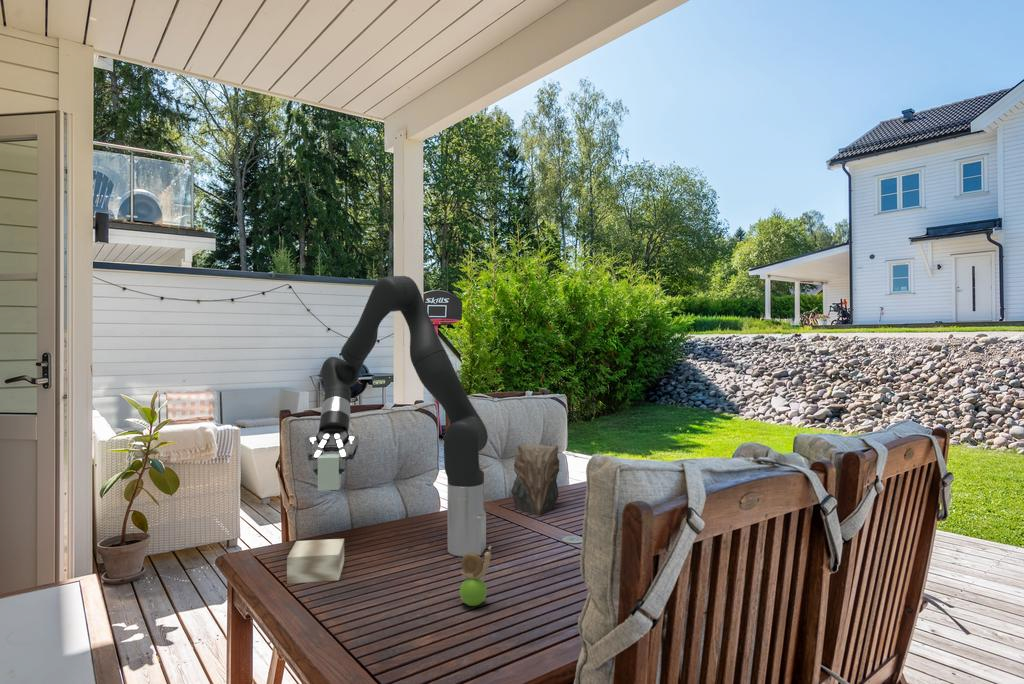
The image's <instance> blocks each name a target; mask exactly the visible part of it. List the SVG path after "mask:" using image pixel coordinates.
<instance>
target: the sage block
mask: <svg viewBox="0 0 1024 684" xmlns="http://www.w3.org/2000/svg"><path fill="white" fill-rule="evenodd" d="M340 457H341V455H340V454H339V453H325V454H321V455H320V456H319V457H318V475H317V491H338V490H340V487H341V486H342V474H339V461H340Z"/></svg>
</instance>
